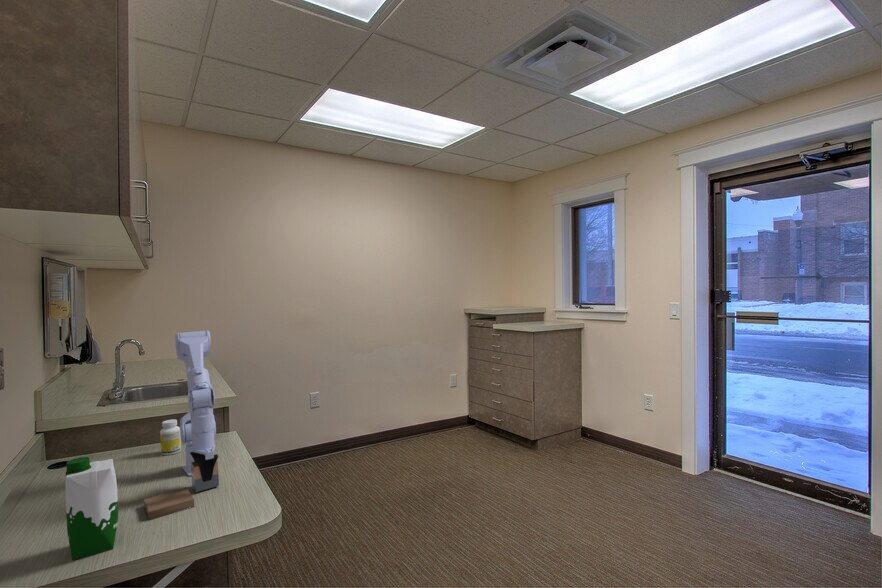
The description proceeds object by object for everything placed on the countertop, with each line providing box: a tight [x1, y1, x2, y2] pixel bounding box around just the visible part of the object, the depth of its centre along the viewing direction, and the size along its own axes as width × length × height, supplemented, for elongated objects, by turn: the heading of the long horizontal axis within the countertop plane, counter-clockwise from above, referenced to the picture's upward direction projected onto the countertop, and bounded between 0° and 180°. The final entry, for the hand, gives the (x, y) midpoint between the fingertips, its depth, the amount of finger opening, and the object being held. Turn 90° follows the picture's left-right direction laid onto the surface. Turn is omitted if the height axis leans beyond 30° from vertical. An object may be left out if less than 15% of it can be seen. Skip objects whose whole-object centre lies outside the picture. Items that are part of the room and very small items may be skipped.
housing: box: [191, 460, 220, 493], centre depth 131 cm, size 5×6×7 cm
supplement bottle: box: [159, 418, 182, 456], centre depth 163 cm, size 6×6×11 cm
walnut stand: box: [143, 487, 195, 521], centre depth 120 cm, size 10×10×2 cm
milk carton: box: [64, 456, 119, 561], centre depth 102 cm, size 9×9×20 cm
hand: (205, 477), depth 131 cm, fingers closed on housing, 5 cm apart
